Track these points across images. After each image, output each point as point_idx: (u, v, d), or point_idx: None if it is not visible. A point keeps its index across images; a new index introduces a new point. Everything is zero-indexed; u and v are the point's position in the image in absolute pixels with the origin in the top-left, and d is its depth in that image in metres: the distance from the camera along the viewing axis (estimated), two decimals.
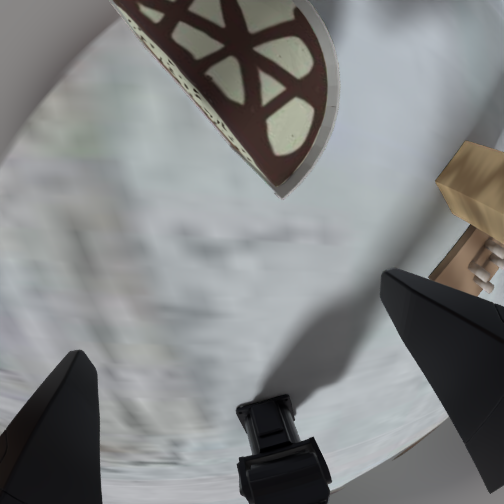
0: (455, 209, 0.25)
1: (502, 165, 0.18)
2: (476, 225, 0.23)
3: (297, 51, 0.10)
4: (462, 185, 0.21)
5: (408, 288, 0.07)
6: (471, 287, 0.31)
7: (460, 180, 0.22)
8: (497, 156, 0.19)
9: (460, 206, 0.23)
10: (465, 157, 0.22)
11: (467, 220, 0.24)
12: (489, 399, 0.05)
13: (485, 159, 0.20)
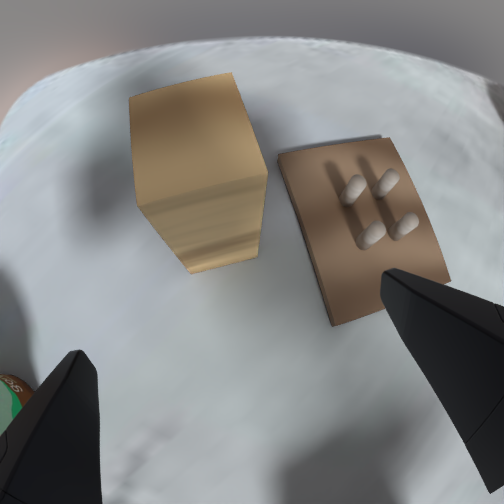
0: (239, 258, 0.22)
1: None
2: (254, 242, 0.19)
3: None
4: None
5: (408, 288, 0.07)
6: (408, 245, 0.22)
7: None
8: None
9: (220, 257, 0.20)
10: None
11: (252, 248, 0.20)
12: (489, 399, 0.05)
13: None
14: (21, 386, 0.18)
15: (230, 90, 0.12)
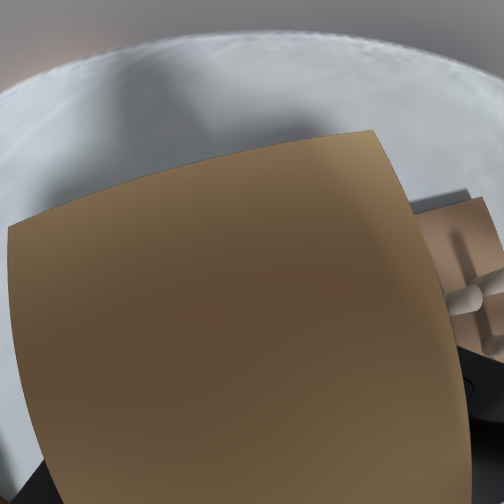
0: None
1: None
2: None
3: None
4: None
5: None
6: (499, 358, 0.13)
7: None
8: None
9: None
10: None
11: None
12: None
13: None
14: None
15: (394, 226, 0.03)
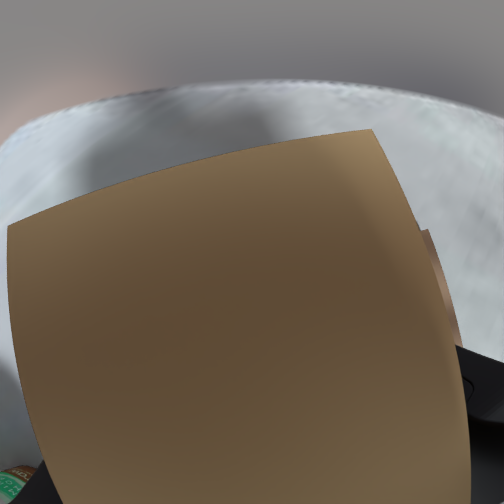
0: None
1: None
2: None
3: None
4: None
5: None
6: None
7: None
8: None
9: None
10: None
11: None
12: None
13: None
14: None
15: (392, 225, 0.03)
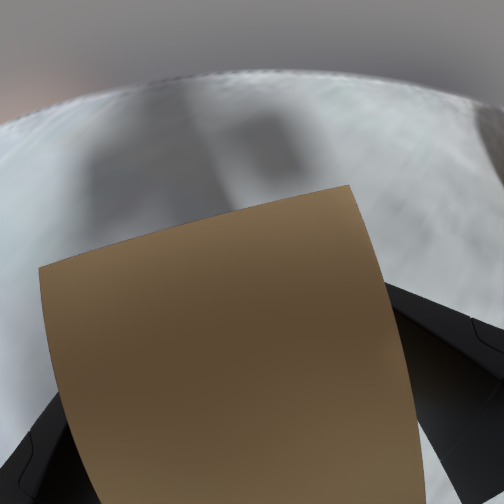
0: None
1: None
2: None
3: None
4: None
5: None
6: None
7: None
8: None
9: None
10: None
11: None
12: (463, 418, 0.05)
13: None
14: None
15: (359, 274, 0.04)
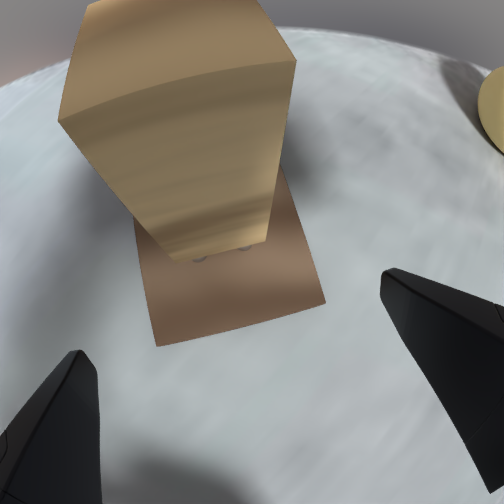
0: (241, 241, 0.16)
1: None
2: (263, 216, 0.13)
3: None
4: None
5: (408, 288, 0.07)
6: (261, 256, 0.20)
7: None
8: None
9: (214, 238, 0.14)
10: None
11: (260, 226, 0.14)
12: (489, 399, 0.05)
13: None
14: None
15: None
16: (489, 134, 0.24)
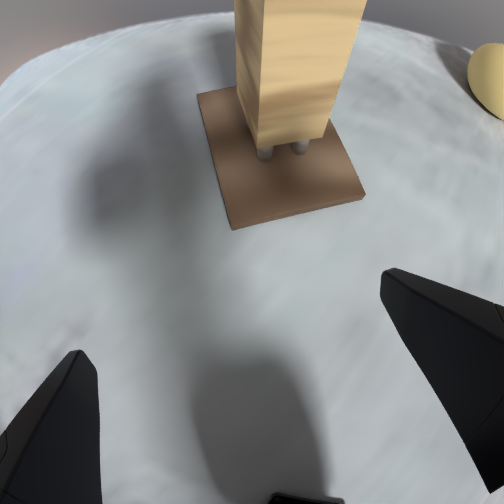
0: (308, 131, 0.20)
1: (240, 48, 0.16)
2: (329, 105, 0.18)
3: None
4: (255, 111, 0.18)
5: (408, 288, 0.07)
6: (313, 159, 0.24)
7: (253, 112, 0.18)
8: (237, 54, 0.18)
9: (293, 121, 0.19)
10: (243, 98, 0.20)
11: (324, 116, 0.19)
12: (489, 399, 0.05)
13: (240, 70, 0.18)
14: None
15: None
16: (478, 97, 0.28)
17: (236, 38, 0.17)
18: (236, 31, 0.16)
